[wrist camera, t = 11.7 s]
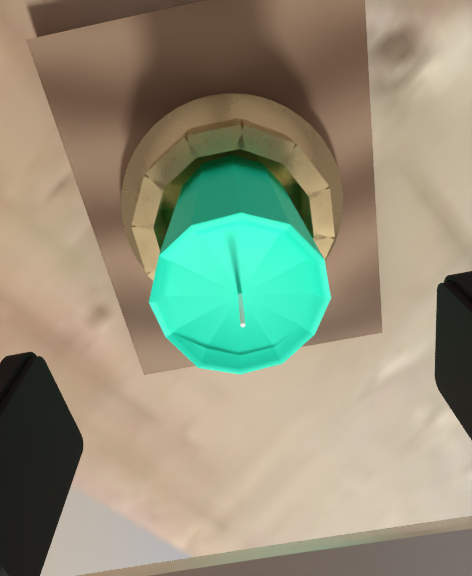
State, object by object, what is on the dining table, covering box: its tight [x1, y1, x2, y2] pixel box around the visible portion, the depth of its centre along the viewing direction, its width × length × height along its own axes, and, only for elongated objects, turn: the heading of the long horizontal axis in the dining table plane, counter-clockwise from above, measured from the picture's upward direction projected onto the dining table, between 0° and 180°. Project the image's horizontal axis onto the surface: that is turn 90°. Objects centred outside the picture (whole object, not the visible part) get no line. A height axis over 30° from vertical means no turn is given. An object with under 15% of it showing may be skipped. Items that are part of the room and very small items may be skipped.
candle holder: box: [121, 93, 343, 281], centre depth 23 cm, size 12×12×4 cm
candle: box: [149, 155, 331, 374], centre depth 18 cm, size 6×6×12 cm
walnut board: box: [27, 0, 382, 375], centre depth 25 cm, size 20×16×2 cm
